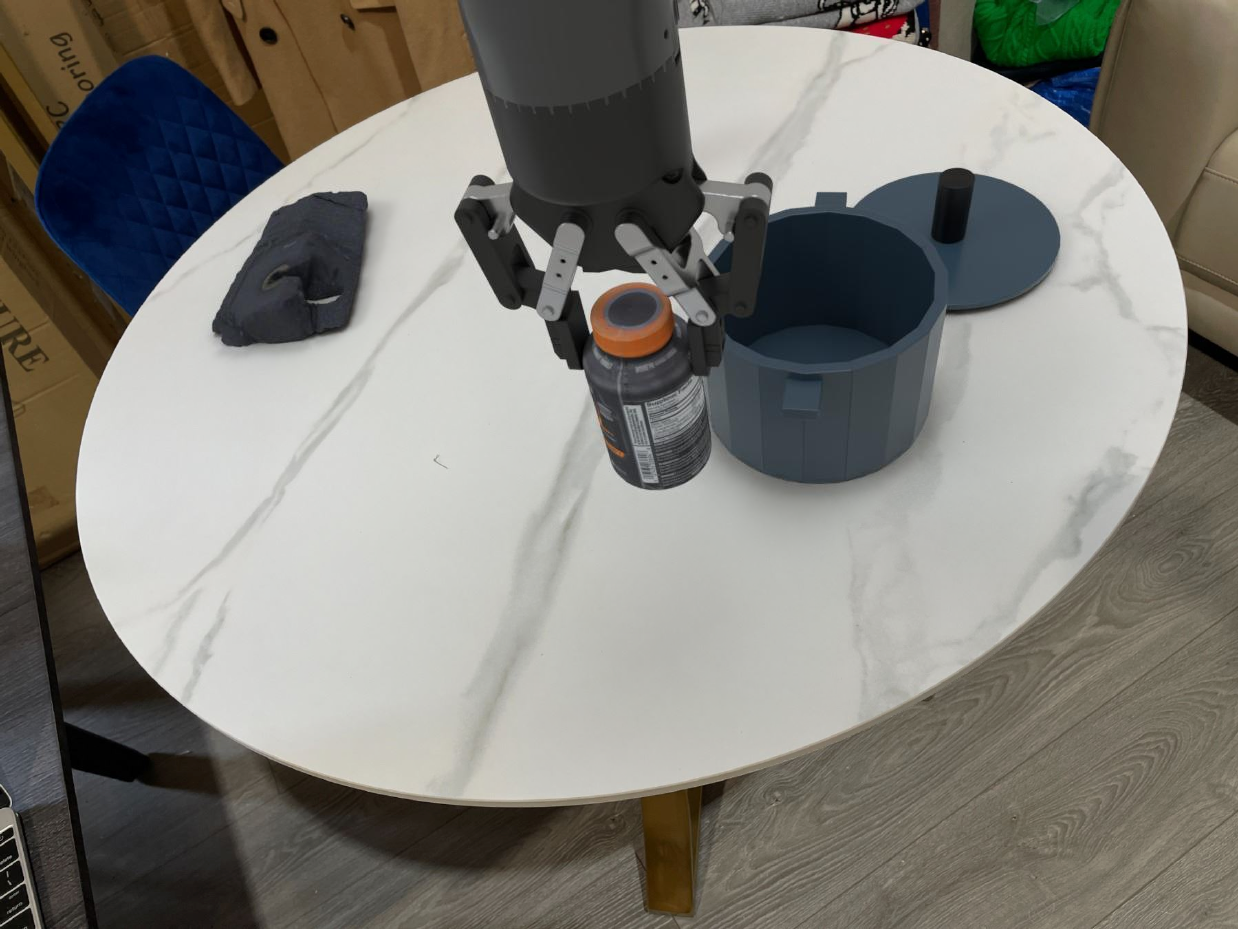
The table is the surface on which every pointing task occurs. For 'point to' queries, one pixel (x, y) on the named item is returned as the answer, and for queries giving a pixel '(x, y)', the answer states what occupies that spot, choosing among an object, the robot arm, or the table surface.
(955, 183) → the lid
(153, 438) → the table surface
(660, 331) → the pill bottle
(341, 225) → the dark slate chunk
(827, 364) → the pot
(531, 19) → the robot arm
